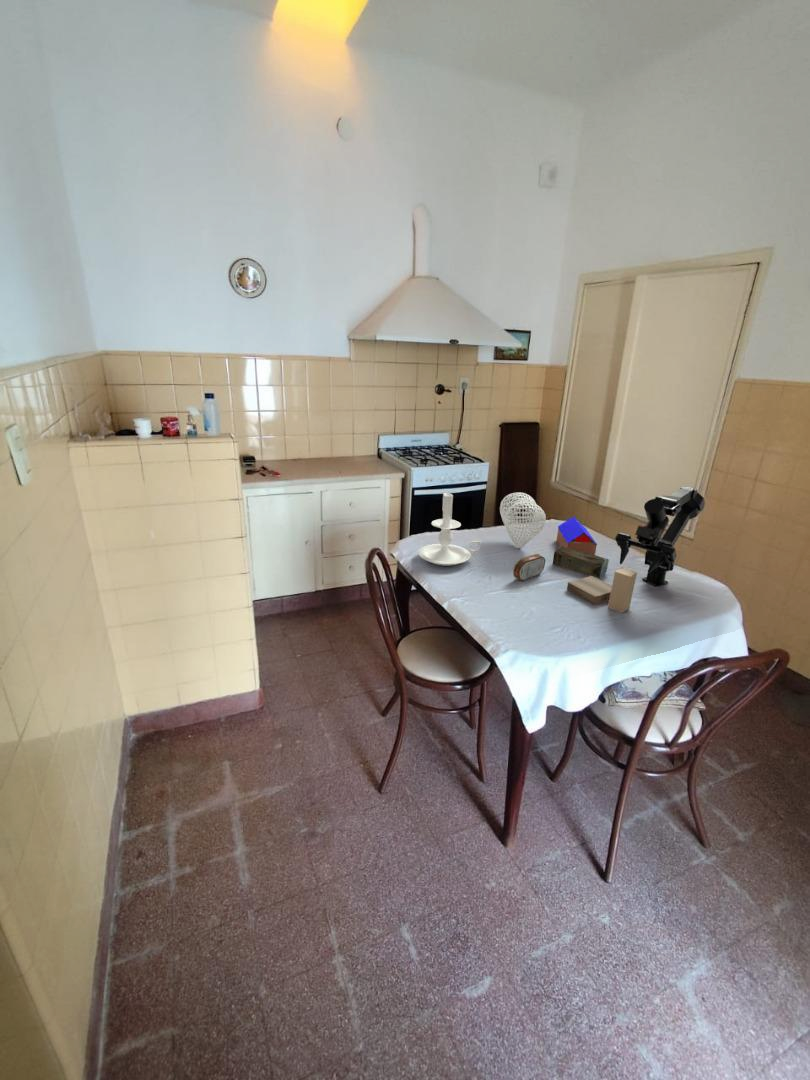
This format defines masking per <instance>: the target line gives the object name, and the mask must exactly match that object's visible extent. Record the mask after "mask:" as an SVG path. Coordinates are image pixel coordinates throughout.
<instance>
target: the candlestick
mask: <svg viewBox="0 0 810 1080" xmlns="http://www.w3.org/2000/svg"><path fill="white" fill-rule="evenodd" d="M453 500H454V495H453V494H452V493H450V492H443V494H442V510H441V511H442V518H438V519H435V520H432V521H431V523H430V524H431V525H432V526H433V527H435V528H439V529H441V530H440V532H439V533H438V536H437V540H438V543H432V544H428V545H425V546H422V547H421V548H419V550H418V552H417V553H418V556H419V558H421V559H423V560H424V561H427V562H429V563H431V564H434V565H437V566H443V567H444V566H447V567H448V566H449V567H450V566H455V565H459V564H461V563H462V564H463V563H466V562H467V561H468V560H469V559H470V558H471V557H475V555H476V553H477V552H478V551H479V550H480V548H481V545H480V543H482V542H483V541H482V540H473V541H470V542H469V543H468V549H466V548H464V547H463V546H460V545H456V544H451V543H452V542H453V539H454V536H453V534H452V531H451V530H452V529H457V528H460V527H461V526H462V524H461V522H459V521H457V520H455V519H453V518H452V517H453V502H454V501H453ZM473 544H476V545H477V548H475V549H472V548H471V546H472V545H473ZM471 553H472V554H471Z"/></svg>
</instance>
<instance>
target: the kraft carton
mask: <svg viewBox="0 0 810 1080" xmlns="http://www.w3.org/2000/svg"><path fill="white" fill-rule="evenodd" d="M637 575H638V571H635V570H632V569H629V568H625V567H620V568H619V569H617V570H615V571H614V576H613V581H612V584H611V585H612V589H611V594H610V599H609V600H608V605H607V607H608V608H609V609H613V610H614V611H617V612H619V613H625V612H626V611H627V610H629V609H630V606H631V602H632V598H633V593H634V588H635V584H636V579H637Z"/></svg>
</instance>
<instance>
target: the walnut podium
mask: <svg viewBox="0 0 810 1080" xmlns="http://www.w3.org/2000/svg"><path fill="white" fill-rule="evenodd" d="M611 589H612V584H610V583H608V582H605V581H603V580H601V579H599V578H596V577H593V576H589V575H588V576H586V577H582V578H578V579H576V580H571V581H568V582H567V587H566V590H567V591H568V592H570V593H572V594H573V595H575V596H578V597H579V598H581V599H582V600H585V601H586V602H589V603H590V604H592V605H594V606H595V605H597V604H601V603H604V602H607V601H609V599H610V594H611Z"/></svg>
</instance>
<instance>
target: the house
mask: <svg viewBox="0 0 810 1080" xmlns="http://www.w3.org/2000/svg"><path fill="white" fill-rule="evenodd" d="M557 528H558V529H557V535H556V542H557V545H558V546H559V548H560V547H561V546H564V547H568V548H571V549H575V550H578V551H582V552H585V553H589V554H592V555H596V551H597V546H598V543H597V542H596V540H595V539H594V538H593V537H592V535H591V534H590V531H588V530H587V528H586V526H584V525H582V523H580V521H579V520H578V519H577V518H575V517H574V516H571V517H570V518H568V519H567V520H566V521H564V522H562V523H561V524H559V525H558V526H557Z"/></svg>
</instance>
